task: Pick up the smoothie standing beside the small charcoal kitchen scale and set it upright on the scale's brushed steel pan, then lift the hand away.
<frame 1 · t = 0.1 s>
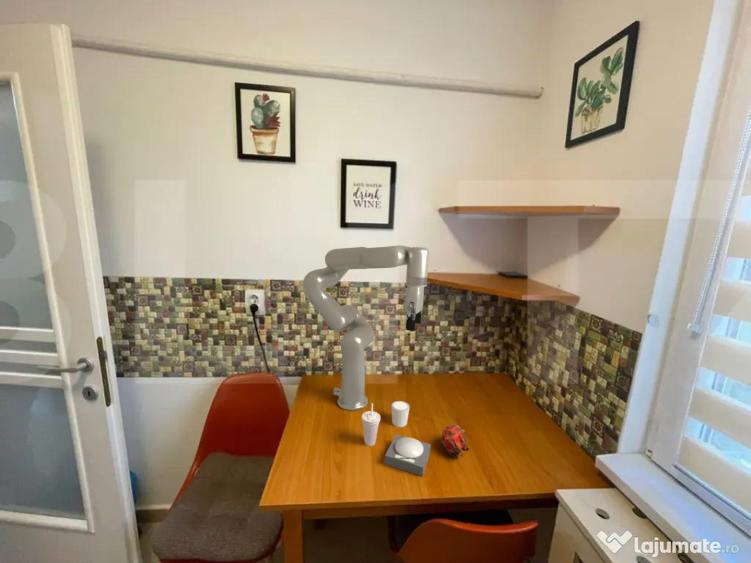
hand: (413, 326, 116), 37 cm above the table, tool pointing down, fingers open, 9 cm apart
scale: (408, 458, 99), on the table
shot glass: (399, 423, 118), on the table
smoothie: (369, 442, 106), on the table
dragon fruit: (453, 450, 104), on the table
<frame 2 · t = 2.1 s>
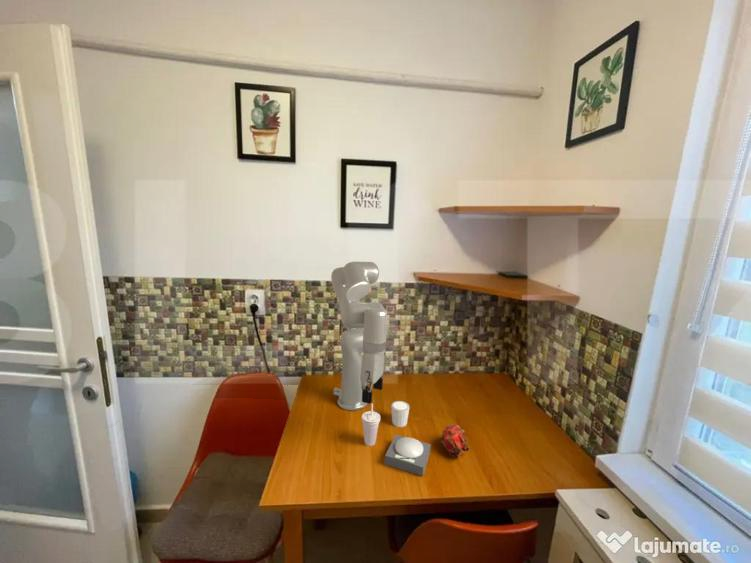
hand: (372, 395, 103), 18 cm above the table, tool pointing down, fingers open, 9 cm apart
nothing on the table moved.
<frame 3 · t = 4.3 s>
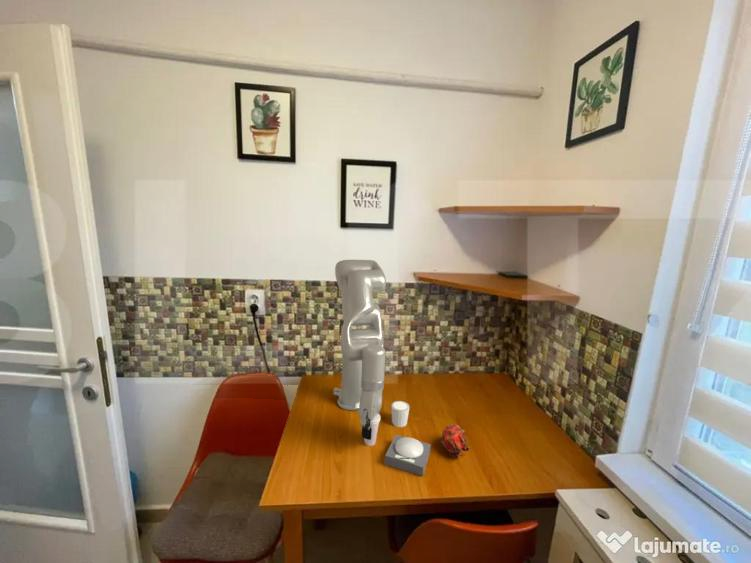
hand: (370, 431, 105), 4 cm above the table, tool pointing down, fingers closed on smoothie, 6 cm apart
smoothie: (369, 442, 106), on the table, touching gripper
everything else where it was.
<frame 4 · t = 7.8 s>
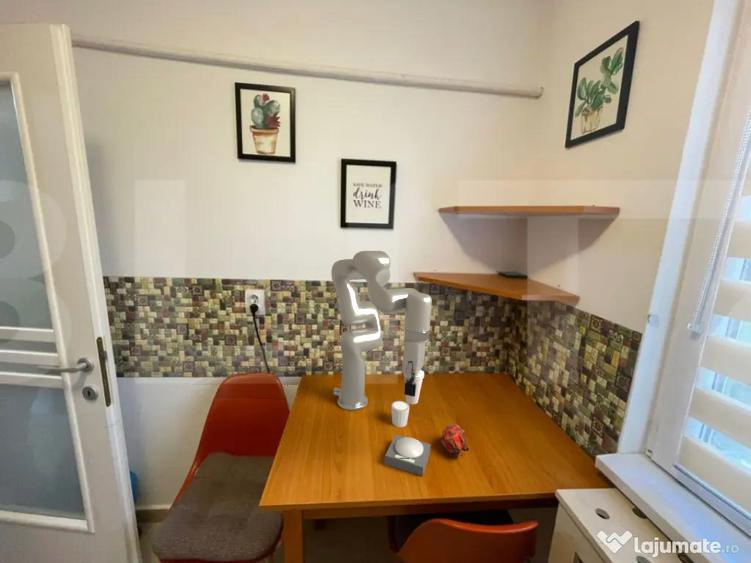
hand: (412, 389, 96), 23 cm above the table, tool pointing down, fingers closed on smoothie, 6 cm apart
smoothie: (411, 401, 97), point 19 cm above the table, touching gripper
everything else where it was.
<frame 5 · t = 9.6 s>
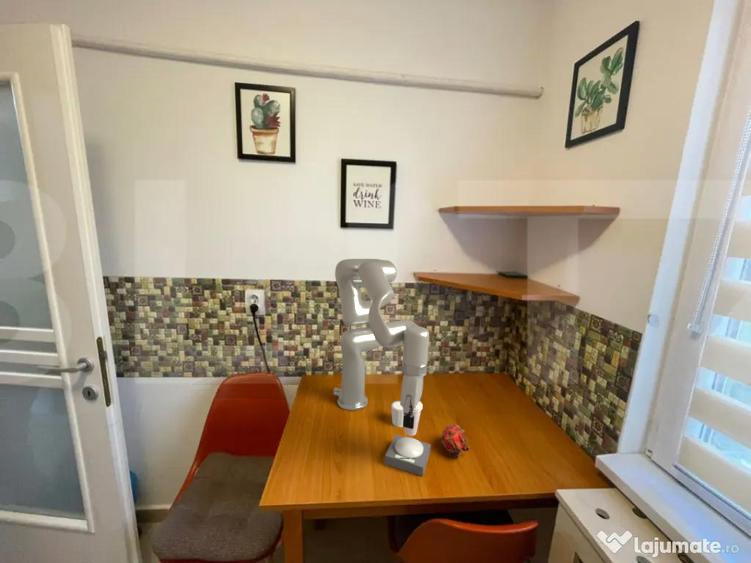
hand: (411, 420, 98), 13 cm above the table, tool pointing down, fingers closed on smoothie, 6 cm apart
smoothie: (410, 432, 98), point 9 cm above the table, touching gripper
everything else where it was.
when the fingers open (9 cm above the table, at t = 11.3 s): smoothie drops 1 cm, resting on scale.
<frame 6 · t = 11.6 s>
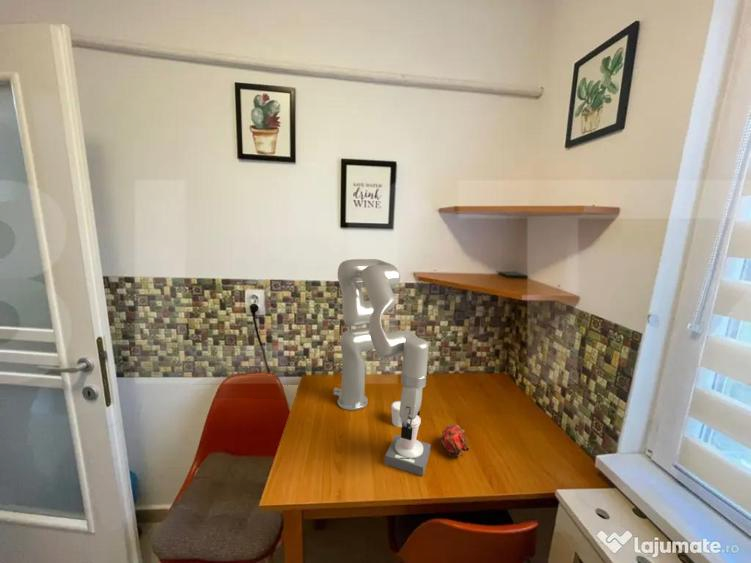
hand: (410, 429, 98), 10 cm above the table, tool pointing down, fingers open, 9 cm apart
smoothie: (408, 446, 100), point 4 cm above the table, touching scale
everything else where it was.
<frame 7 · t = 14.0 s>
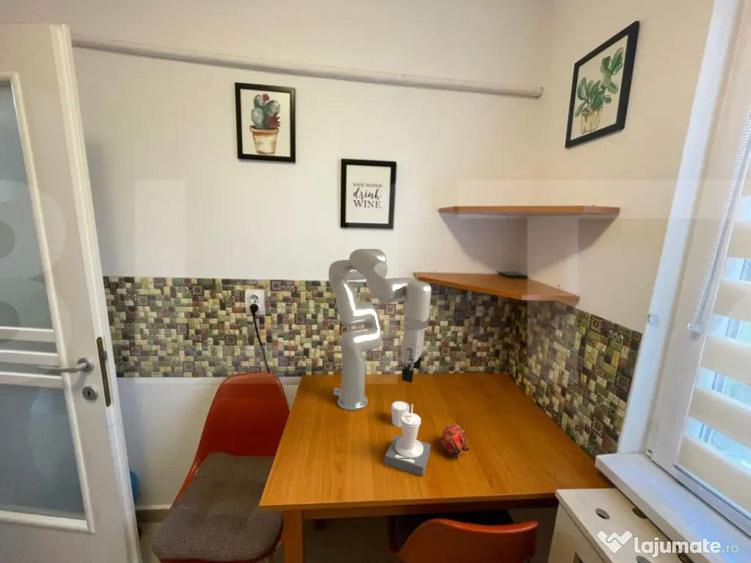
hand: (411, 374, 98), 27 cm above the table, tool pointing down, fingers open, 9 cm apart
nothing on the table moved.
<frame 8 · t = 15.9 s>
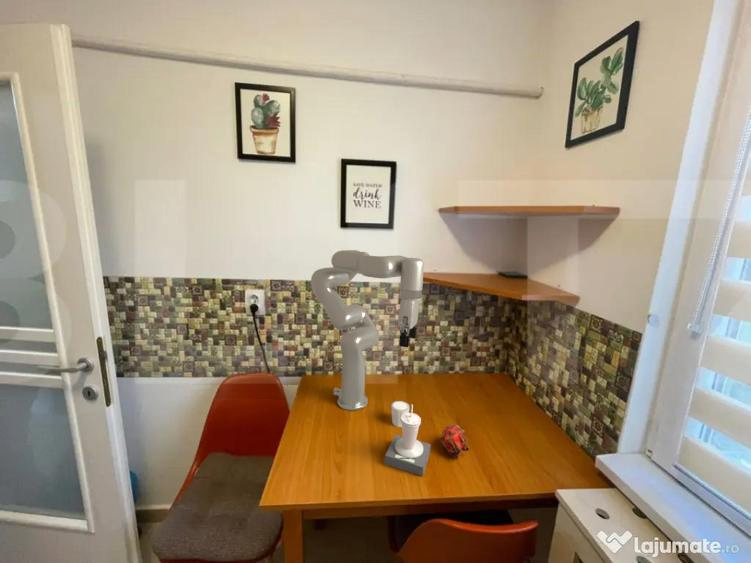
hand: (407, 342, 109), 33 cm above the table, tool pointing down, fingers open, 9 cm apart
nothing on the table moved.
at the end: smoothie 0.4 cm off-centre on the scale, point 3.6 cm above the scale's base; smoothie tilted 0°; the gripper is holding nothing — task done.
